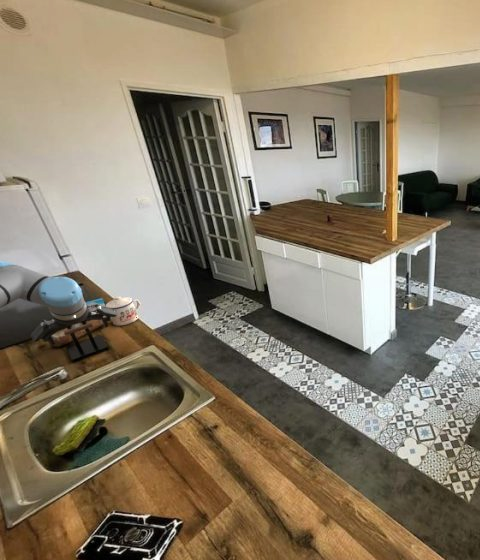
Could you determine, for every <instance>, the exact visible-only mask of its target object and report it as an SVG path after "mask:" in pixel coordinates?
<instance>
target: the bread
mask: <svg viewBox="0 0 480 560" xmlns="http://www.w3.org/2000/svg"><path fill="white" fill-rule="evenodd" d="M80 323H81V322H80ZM89 323H92V325H93V327H90V328H89V330H90V332H91V333H92V332H93V331H95V330H97V329H99V328H100V327H102V326H105V325H104V323H103V321H102V320H90V321H86V324H89ZM79 326H82V323H81V325H79ZM71 328H72V329H73V328H75V327H72V326H71ZM66 330H68V329H67V328H65V329H61V330H59V331H58V332H56V333H55V334H54V335H52V337H53V339H54V341H55V343H56V344H55V345H52V343H51V342H50V341H47V343H48V344H49V345H50V347H51V346H52V347H53V346H54V347H58V348H59V347H63V346H65V345H69V344H71V343H72V342H74V341H73V339H72V337H71V335H70V334H68V335H65V334H64V331H66ZM74 334H75V336H76V338H77V340H79V338H81V337H83V336H85V335H87V333H86V331H85V329H84V330H81V331H78V332H74Z"/></svg>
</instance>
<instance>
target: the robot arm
mask: <svg viewBox="0 0 480 560" xmlns="http://www.w3.org/2000/svg"><path fill="white" fill-rule="evenodd" d="M18 299H21V300H24V301H27V302H31V303H34V304H38V305H41V306H44V307H46V308H47V309H48V312H50V314H51V316H52V319H51V320H46V319H42V320H39V324H38V325H37V326H36V327H35V329H33V331H32V332H31V334H30V337H31V339H32V341H33V343H37V342H39V341H40V340H42V341H43V342H45V343H46V342H47V341H50V342H51V343H52V345H55V344H56V343H55V341H54V339H53V337H52V335H54V334H55V333H56V332H59V331H61V330H64V329H67V326H69V325H70V326H72V325H75V324H78V323H81V322H82V321H86V322H87V321H90V320H102V321H103V323H104V325H103V326H104V327H105V328H108V327H109V324H108V323H109V322H111V321H112V319H111V317H115V316H117V315H116V313H115V311H114V309H110V308H106V307H102V306H100V305H99V304H96V305H95V307H93V308H92V309H88V308H87V306H86V300H85V298H84V296H83V290H82V288H81V287H80V285H79V284H78V282H76V281H75V280H74V279H72V278H70V277H68V276H49V275H46V274H44V273H40V272H37V271H35V270H32V269H29V268H26V267H23V266H21V265H18V264H14V263H11V262H7V261H4V260H0V309H1V308H4V307H5V306H7V305H9V304H11V303H13V302H15V301H17V300H18ZM47 343H48V342H47Z"/></svg>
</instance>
